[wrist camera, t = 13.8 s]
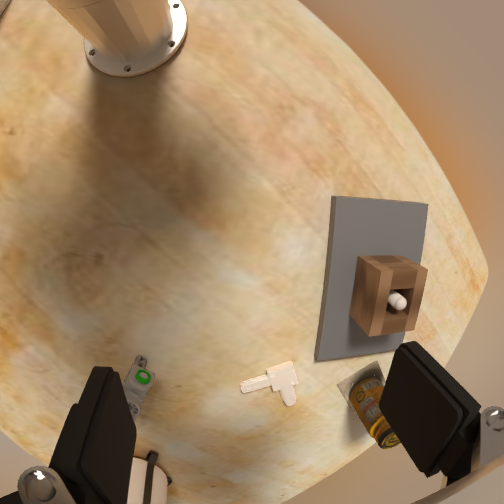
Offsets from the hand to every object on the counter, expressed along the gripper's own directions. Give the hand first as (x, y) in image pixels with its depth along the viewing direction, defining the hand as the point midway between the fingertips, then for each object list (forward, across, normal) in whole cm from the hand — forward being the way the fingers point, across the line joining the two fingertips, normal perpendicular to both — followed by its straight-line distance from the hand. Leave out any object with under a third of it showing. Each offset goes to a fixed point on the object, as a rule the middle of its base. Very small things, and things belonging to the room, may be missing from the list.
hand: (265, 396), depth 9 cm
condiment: (+27, -22, +27) cm, 44 cm away
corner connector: (+27, -6, +24) cm, 37 cm away
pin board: (+27, -20, +8) cm, 34 cm away
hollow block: (+25, -20, +8) cm, 33 cm away
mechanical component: (+27, +12, +18) cm, 35 cm away
